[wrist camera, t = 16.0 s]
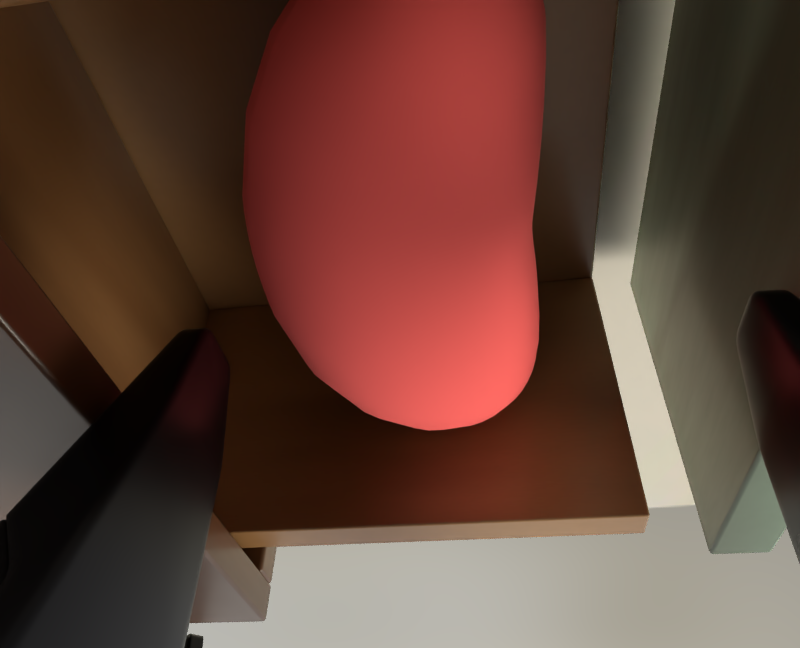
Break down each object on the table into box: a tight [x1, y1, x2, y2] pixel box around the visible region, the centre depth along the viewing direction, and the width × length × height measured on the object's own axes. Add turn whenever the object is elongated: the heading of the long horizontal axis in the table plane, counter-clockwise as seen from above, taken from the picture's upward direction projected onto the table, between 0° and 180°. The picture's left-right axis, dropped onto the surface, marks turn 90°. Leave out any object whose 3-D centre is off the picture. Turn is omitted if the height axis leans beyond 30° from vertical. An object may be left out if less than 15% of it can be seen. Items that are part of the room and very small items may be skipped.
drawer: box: [0, 0, 800, 554], centre depth 11 cm, size 18×13×8 cm
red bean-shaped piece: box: [242, 0, 546, 431], centre depth 12 cm, size 5×9×6 cm, turn 3°
